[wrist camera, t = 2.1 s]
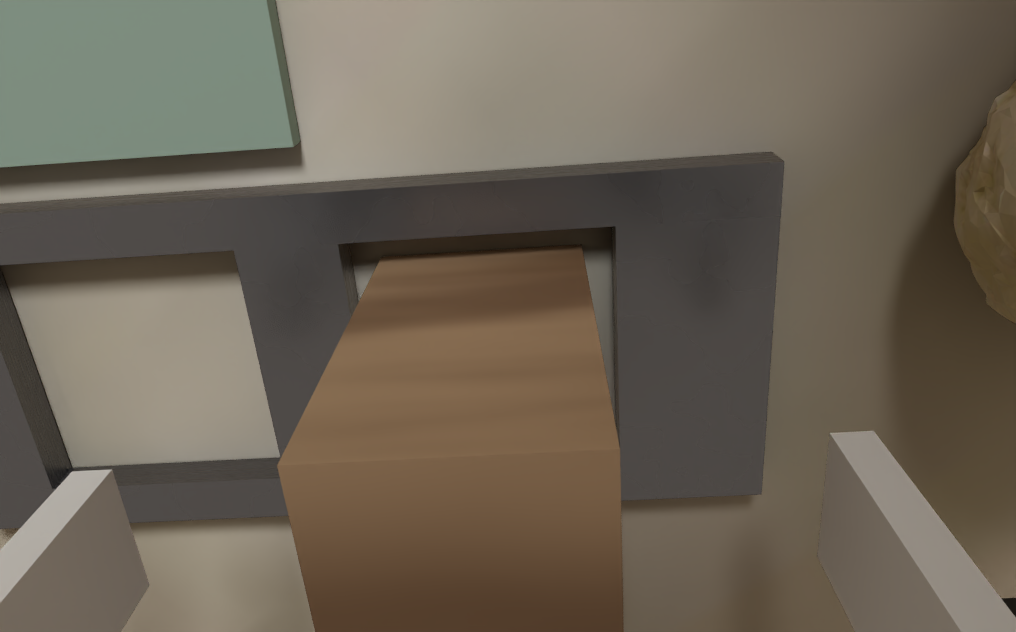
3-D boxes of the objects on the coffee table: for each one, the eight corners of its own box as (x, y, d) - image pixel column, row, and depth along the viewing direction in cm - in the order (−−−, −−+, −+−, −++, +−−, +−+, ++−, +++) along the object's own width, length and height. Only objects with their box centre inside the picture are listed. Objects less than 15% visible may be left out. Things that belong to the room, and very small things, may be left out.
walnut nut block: (381, 257, 20) (277, 465, 12) (581, 243, 20) (620, 448, 11) (406, 427, 22) (332, 708, 14) (587, 418, 22) (624, 698, 13)
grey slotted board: (-130, 212, 20) (-162, 224, 19) (771, 151, 18) (784, 161, 18) (-7, 507, 23) (-29, 529, 22) (751, 472, 22) (761, 494, 21)
